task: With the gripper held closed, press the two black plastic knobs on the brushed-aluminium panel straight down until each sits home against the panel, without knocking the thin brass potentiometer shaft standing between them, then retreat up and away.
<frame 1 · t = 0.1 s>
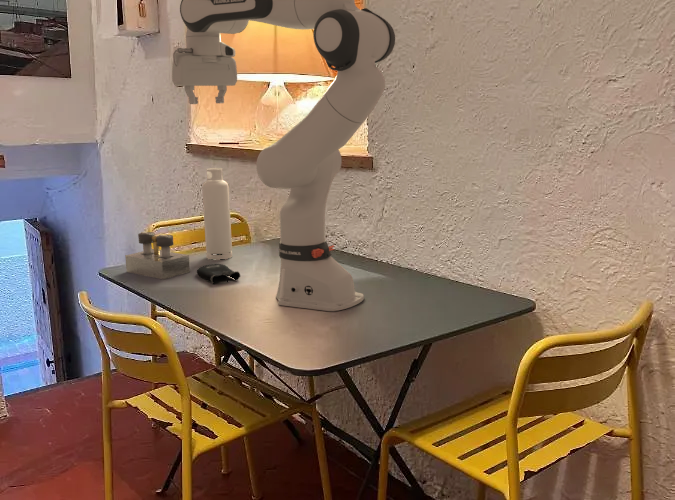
hand: (207, 103, 181), 48 cm above the table, fingers open, 8 cm apart
black pouch: (217, 279, 195), on the table
mount: (158, 271, 202), on the table
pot: (156, 245, 200), point 8 cm above the table, hinge at 0.0°
knob far: (147, 244, 202), point 8 cm above the table, slide at 0.0 cm
bottle: (219, 257, 219), on the table
knob near: (165, 247, 198), point 8 cm above the table, slide at 0.0 cm
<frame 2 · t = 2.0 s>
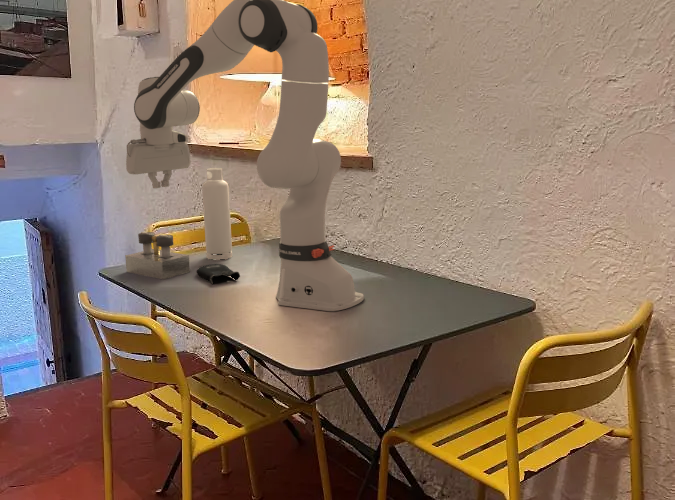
hand: (161, 187, 194), 25 cm above the table, fingers closed
nothing on the table moved.
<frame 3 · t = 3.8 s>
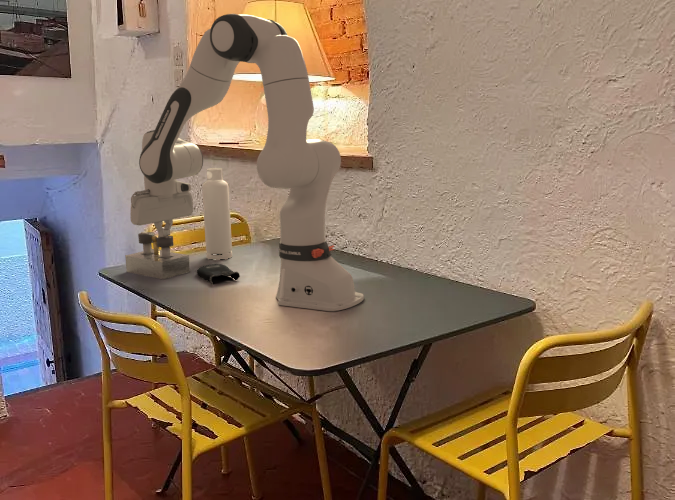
hand: (164, 235, 197), 11 cm above the table, fingers closed, pressing on knob near
knob near: (165, 248, 198), point 7 cm above the table, slide at 0.2 cm, touching gripper
everything else where it was.
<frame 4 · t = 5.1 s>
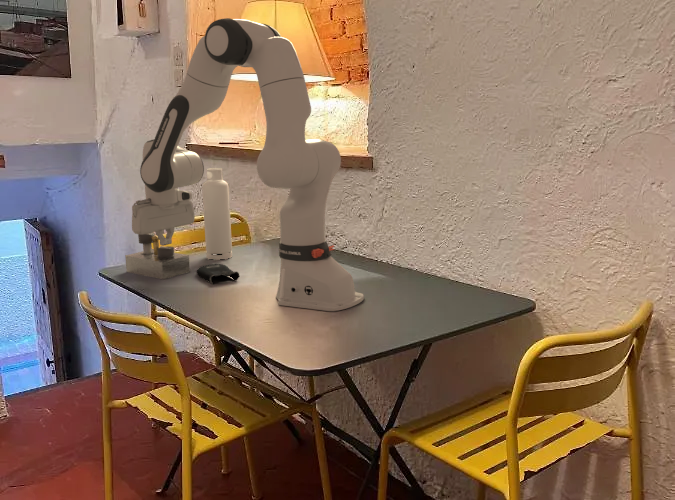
hand: (166, 244, 197), 9 cm above the table, fingers closed
knob near: (166, 259, 199), point 4 cm above the table, slide at 3.4 cm
everything else where it was.
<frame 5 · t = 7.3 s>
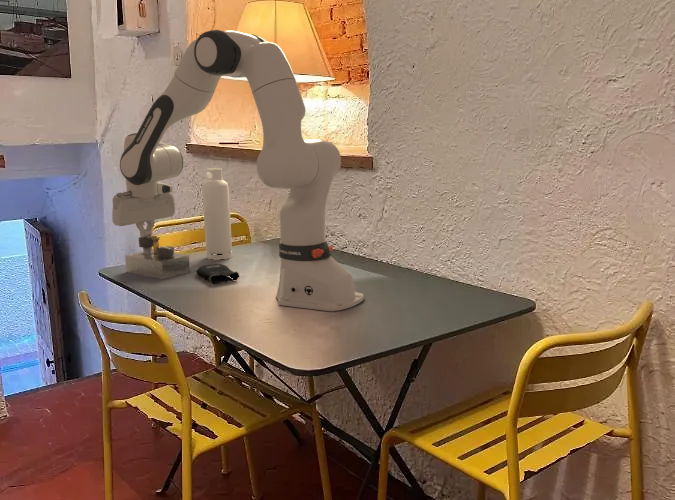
hand: (146, 236, 202), 10 cm above the table, fingers closed, pressing on knob far
knob far: (147, 248, 203), point 7 cm above the table, slide at 1.1 cm, touching gripper
everything else where it was.
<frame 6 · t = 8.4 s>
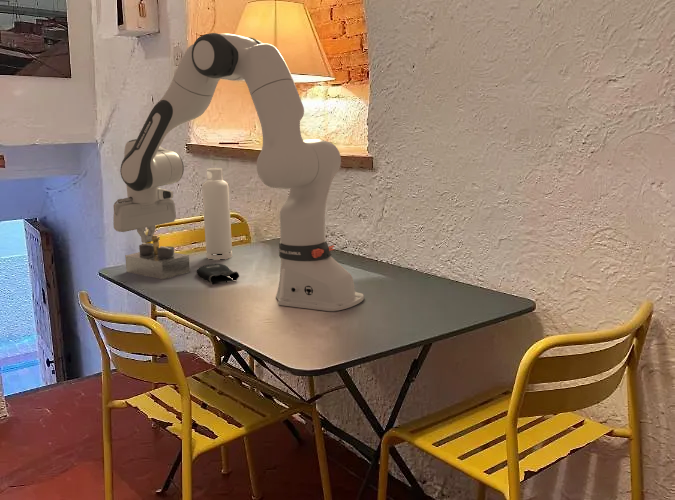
hand: (147, 242, 202), 9 cm above the table, fingers closed
knob far: (148, 256, 203), point 4 cm above the table, slide at 3.4 cm
everything else where it was.
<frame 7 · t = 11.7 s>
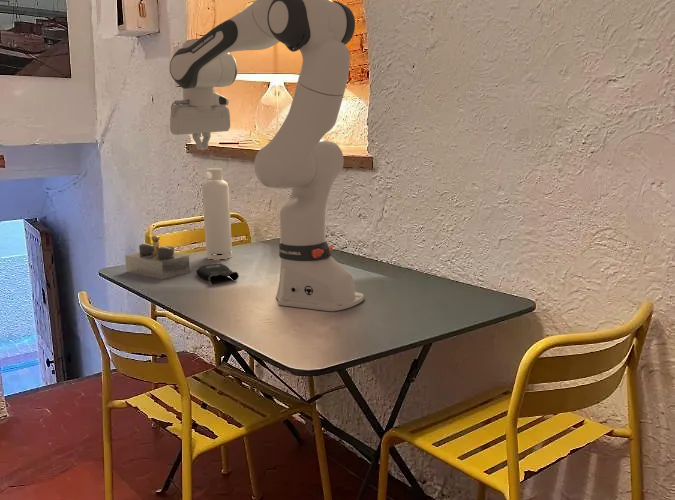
hand: (202, 149, 197), 35 cm above the table, fingers closed
nothing on the table moved.
at the end: knob near slide at 3.4 cm; knob far slide at 3.4 cm; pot at +0° (first picture: +0°) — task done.
